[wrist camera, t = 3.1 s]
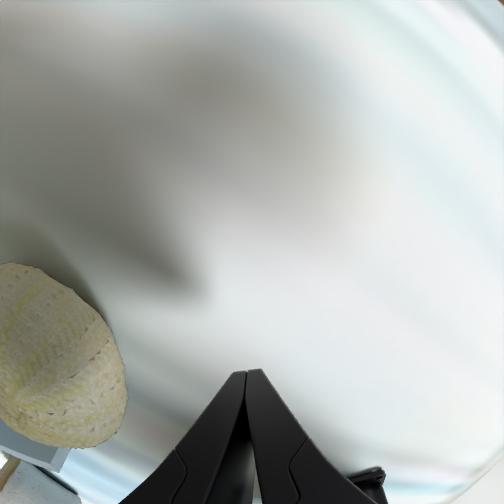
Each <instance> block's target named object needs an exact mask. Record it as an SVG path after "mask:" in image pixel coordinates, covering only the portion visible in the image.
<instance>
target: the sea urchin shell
mask: <svg viewBox="0 0 504 504" xmlns="http://www.w3.org/2000/svg"><path fill="white" fill-rule="evenodd" d="M124 379H125V374H124V364H123V362H122V358H121V356H120V353H119V351H118V349H117V346H116V343H115V340H114V337H113V334H112V332H111V330H110V329H109V328H108V326H107V324H106V323H105V321H104V320H103V318H102V317H101V316H100V313H97V312H96V311H95V310H94V309H93V308H92V307H91V306H90V305H88V304H87V303H86V302H84V301H83V300H82V299H81V298H80V297H79V296H78V295H77V294H76V293H75V292H74V290H73V289H72V288H67V287H66V286H65V285H63V284H60V283H59V282H58V281H56V280H54V279H52V278H51V277H50V276H48V275H46V274H45V272H43V271H42V270H41V269H39V268H34V267H33V266H30V267H28V266H25V265H21V264H16V263H13V262H12V261H11V262H9V263H5V264H1V265H0V418H1V419H2V420H3V421H4V422H5V423H6V425H7V426H9V427H11V428H12V429H13V430H15V431H16V432H18V433H20V434H22V435H23V436H24V437H28V438H29V439H31V440H32V441H37V442H39V443H43V444H46V445H50V446H52V447H53V446H58V447H60V448H61V449H63V448H66V447H69V448H70V449H71V448H75V449H77V448H80V449H84V448H90V447H96V445H98V444H100V443H102V442H104V441H106V440H107V439H108V438H110V437H111V436H112V435H113V434H115V433H117V430H118V429H119V428H120V426H121V423H122V419H123V417H124V414H125V408H126V403H127V400H128V396H127V393H126V392H127V388H126V386H125V381H124Z"/></svg>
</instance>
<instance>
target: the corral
mask: <svg viewBox="0 0 504 504" xmlns="http://www.w3.org/2000/svg"><path fill="white" fill-rule="evenodd" d="M0 450H2V451H4V452H6V453H8V454H10V455H13V456H15V457H17V458H20V459H22V460H24V461H27V462H29V463H32V464H35V465H37V466H40V467H43V468H46V469H48V470H51V471H54V472H58V473H59V472H60V470H61V468H62V466H63V464H64V462H65V460H66V458H67V456H68V454H69V452H70V450H71V449H70V448H69V447H66V448H63V449H61V448H60V447H58V446H53V447H52V446H50V445H46V444H43V443H39V442H37V441H32V440H31V439H29V438H28V437H24V436H23V435H22V434H20V433H18V432H16V431H15V430H13V429H12V428H11V427H9V426H7V425H6V423H5V422H4V421H3V420H2V419H1V418H0Z"/></svg>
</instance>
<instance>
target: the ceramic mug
mask: <svg viewBox="0 0 504 504" xmlns="http://www.w3.org/2000/svg"><path fill="white" fill-rule="evenodd" d="M0 504H82V502H81V499H80V498H79V497H78V496H77V495H76V494H74V493H72V492H71V491H69V490H68V489H66V488H65V487H63V486H62V485H60V484H59V483H57V482H56V481H54V480H53V479H51V478H50V477H49V476H47V475H46V474H44V473H43V472H42V471H41V470H39V469H38V468H37V467H36V466H34V465H33V464H32V463H29V462H27V461H24V460H22V459H20V458H17V457H15V456H12V457H11V458H10V459H9V460H8V461H7V462H6V463H5V465H4V466H3V467H2V469H1V470H0Z"/></svg>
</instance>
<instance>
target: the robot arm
mask: <svg viewBox="0 0 504 504" xmlns="http://www.w3.org/2000/svg"><path fill="white" fill-rule="evenodd" d="M175 449H176V450H175ZM175 449H173V450H172V452H171V453H170V454H169V455H168V456H167V458H166V459H165V460H164V461H163V462H162V463H161V464H160V466H159V467H158V468H157V469H156V470H155V471H154V472H153V473H152V474H151V475H150V476H149V477H148V478H147V479H146V480H145V481H144V482H143V483H141V484H140V485H139V486H138V487H137V488H136V489H135V490H134V491H132V492H131V493H130V494H129V495H128V496H127V497H126V498H124V499H123V500H122V501H121V502H120V503H118V504H252V499H253V485H254V471H255V465H256V471H257V476H258V482H259V487H260V493H261V498H262V504H388V502H387V499H386V496H385V493H384V490H383V487H382V485H383V482H384V480H385V477H386V474H385V471H384V470H380V471H376V472H373V473H370V474H366V475H363V476H359V477H355V478H352V479H347V478H346V477H345V476H344V475H343V474H342V473H340V472H339V471H338V470H337V469H336V468H335V467H334V466H333V465H332V464H331V463H330V462H329V461H328V460H327V458H326V457H325V456H324V455H323V454H322V452H321V451H320V450H319V449H318V448H317V446H316V445H315V444H314V442H313V441H312V440H311V439H310V438H309V436H308V435H307V433H306V432H305V430H304V429H303V428H302V426H301V425H300V424H299V422H298V421H297V419H296V418H295V417H294V415H293V414H292V412H291V411H290V410H289V408H288V407H287V405H286V404H285V402H284V401H283V400H282V398H281V397H280V395H279V394H278V392H277V391H276V390H275V388H274V387H273V385H272V384H271V382H270V381H269V379H268V378H267V376H266V375H265V373H264V372H263V370H262V369H253V370H248V371H237V372H233V373H232V374H231V375H230V377H229V378H228V379H227V381H226V382H225V383H224V385H223V386H222V388H221V389H220V390H219V392H218V393H217V394H216V396H215V397H214V398H213V400H212V401H211V402H210V403H209V405H208V406H207V407H206V409H205V410H204V411H203V413H202V414H201V415H200V416H199V418H198V419H197V420H196V422H195V423H194V424H193V425H192V427H191V428H190V429H189V431H188V432H187V433H186V434H185V436H184V437H183V438H182V439H181V441H180V442H179V443H178V444H177V446H176V447H175Z"/></svg>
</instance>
